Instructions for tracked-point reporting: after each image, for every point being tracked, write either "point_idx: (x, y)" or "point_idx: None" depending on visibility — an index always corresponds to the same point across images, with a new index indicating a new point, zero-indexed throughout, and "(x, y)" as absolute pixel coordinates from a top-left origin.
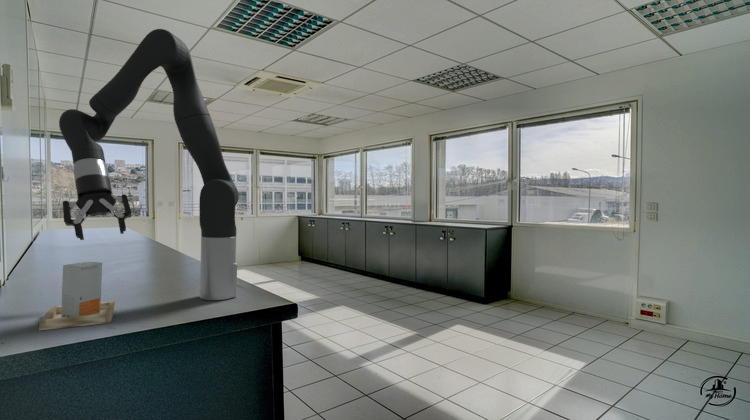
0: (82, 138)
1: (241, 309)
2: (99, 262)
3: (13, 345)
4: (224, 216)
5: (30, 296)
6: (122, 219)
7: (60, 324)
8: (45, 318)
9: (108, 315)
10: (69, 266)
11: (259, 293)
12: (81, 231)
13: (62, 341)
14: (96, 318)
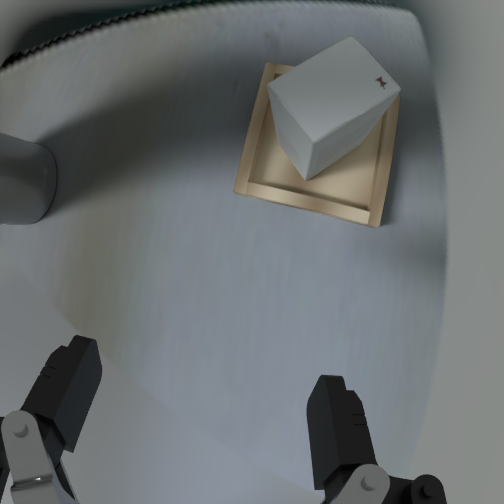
0: None
1: (50, 62)
2: (276, 88)
3: (418, 46)
4: None
5: (375, 456)
6: (33, 411)
7: None
8: (391, 109)
9: (271, 64)
10: (380, 65)
11: None
12: (333, 406)
13: (352, 17)
14: None
